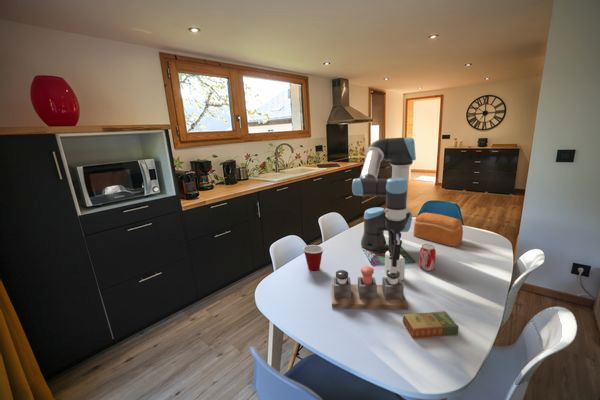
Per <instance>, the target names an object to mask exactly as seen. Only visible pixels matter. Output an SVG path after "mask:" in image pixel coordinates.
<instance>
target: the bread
mask: <svg viewBox="0 0 600 400" xmlns="http://www.w3.org/2000/svg"><path fill="white" fill-rule="evenodd" d="M463 231H464V229H463V222H462V221H461V219H459V218H455V217H451V216H448V215H443V214H438V213H434V212H432V213H430V212H422V213H420V214H417V216H416V217H415V221H414V225H413V236H414V237H415V238H420V239H423V240H427V241H431V242H434V243H437V244H441V245H446V246H450V247H453V248H454V247H458V246H459V245H460V244H461V243H463V236H464V235H463V234H464V232H463Z"/></svg>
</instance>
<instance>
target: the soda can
mask: <svg viewBox="0 0 600 400" xmlns="http://www.w3.org/2000/svg"><path fill="white" fill-rule="evenodd" d="M436 254H437V252H436V248H435V246H434V245H432V244H429V243H424V244H422V245H421V247H420V250H419V262H418V264H419V265H418V266H419V268H420V269H422V270H423V271H426V272H427V271H428V272H430V271H433V270H434V269H435V265H436V256H437V255H436Z"/></svg>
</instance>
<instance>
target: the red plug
mask: <svg viewBox="0 0 600 400" xmlns="http://www.w3.org/2000/svg"><path fill="white" fill-rule="evenodd" d="M374 270H375V268H374V267H371V266H368V265H363V266H361V267H360V272H361V274H362V276H361V277H362V285H372V277H373V274H374V273H375V271H374Z"/></svg>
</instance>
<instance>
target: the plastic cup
mask: <svg viewBox="0 0 600 400" xmlns="http://www.w3.org/2000/svg"><path fill="white" fill-rule="evenodd" d="M302 251H303V252H304V256H305V260H306V264H307V269H308V270H310V272H311V273H315V272H319V270H320V268H321V263H322V256H323V252H324V251H325V248H324V247H323V246H321V245H317V244H310V245H309V244H308V245H305V246H304V247H302Z"/></svg>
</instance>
